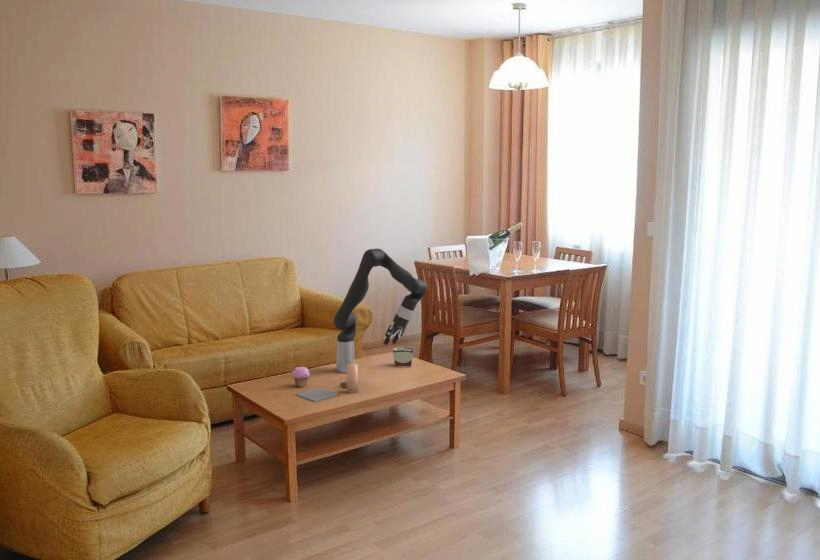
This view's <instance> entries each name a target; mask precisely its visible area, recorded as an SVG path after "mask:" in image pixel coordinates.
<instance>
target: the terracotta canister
mask: <svg viewBox="0 0 820 560" xmlns="http://www.w3.org/2000/svg"><path fill="white" fill-rule="evenodd" d="M358 366H359V364H358V363H356V362H354V363H349V364H347V373H346V374H347V377H346V378H347V380H346V381H347V388H346V389H347V393H348V392H350V393H349V394H356V392H357V393H358V392H359V375H358V373H359V371H358V370H359V369H358Z"/></svg>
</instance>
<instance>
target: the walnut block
mask: <svg viewBox="0 0 820 560" xmlns="http://www.w3.org/2000/svg"><path fill="white" fill-rule="evenodd" d="M341 386H343V387H342V388H344V387H346V388H345V389H347V380H343V381H341V382H340V387H341Z"/></svg>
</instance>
